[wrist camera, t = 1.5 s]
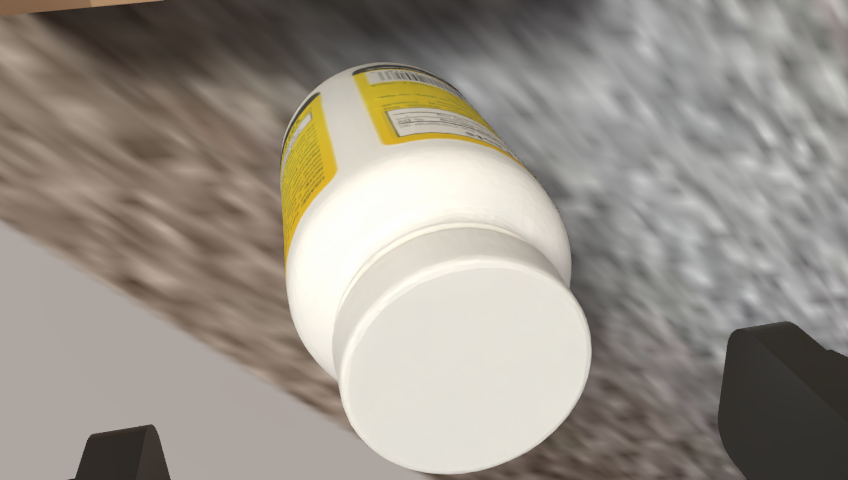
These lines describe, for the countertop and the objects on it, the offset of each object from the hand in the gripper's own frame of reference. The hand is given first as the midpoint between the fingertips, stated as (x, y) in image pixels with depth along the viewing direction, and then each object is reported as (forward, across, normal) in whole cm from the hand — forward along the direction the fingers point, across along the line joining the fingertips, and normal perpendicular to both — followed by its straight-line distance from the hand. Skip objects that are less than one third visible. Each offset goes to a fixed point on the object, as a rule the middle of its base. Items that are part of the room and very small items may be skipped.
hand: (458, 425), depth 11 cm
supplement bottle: (+11, 0, 0) cm, 11 cm away
